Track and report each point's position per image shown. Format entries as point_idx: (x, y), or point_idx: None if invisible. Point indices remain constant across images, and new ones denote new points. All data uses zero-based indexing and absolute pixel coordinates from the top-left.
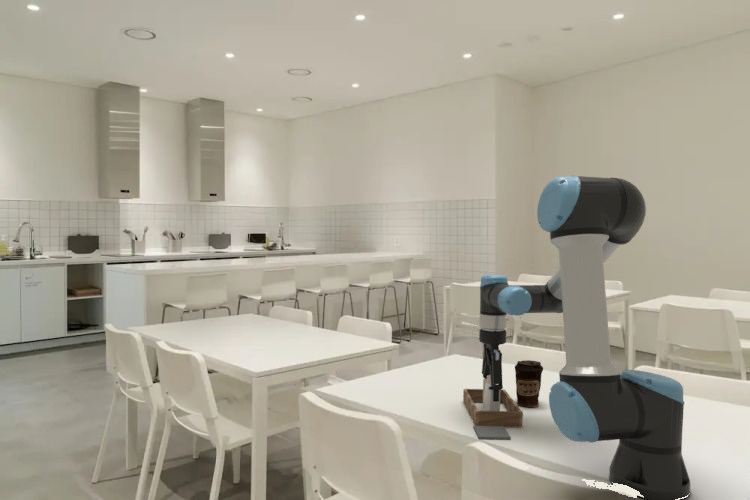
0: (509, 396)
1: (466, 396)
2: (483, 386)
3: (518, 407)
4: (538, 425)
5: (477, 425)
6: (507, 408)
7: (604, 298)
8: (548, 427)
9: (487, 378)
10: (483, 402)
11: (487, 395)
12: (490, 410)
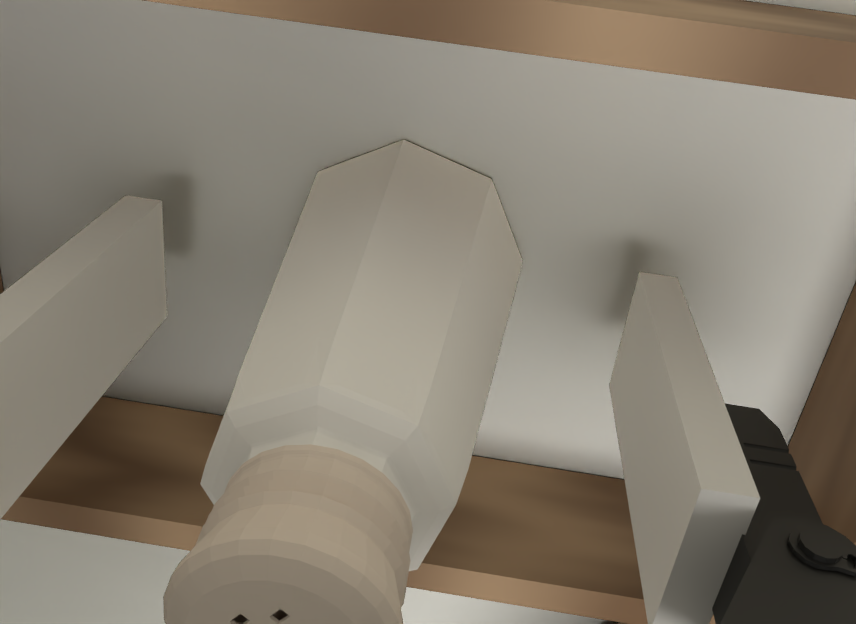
0: (515, 597)
1: (729, 20)
2: (681, 394)
3: (69, 527)
4: (74, 540)
5: None
6: (508, 475)
7: None
8: (37, 586)
9: (269, 514)
10: (368, 210)
11: (271, 302)
12: (114, 208)
